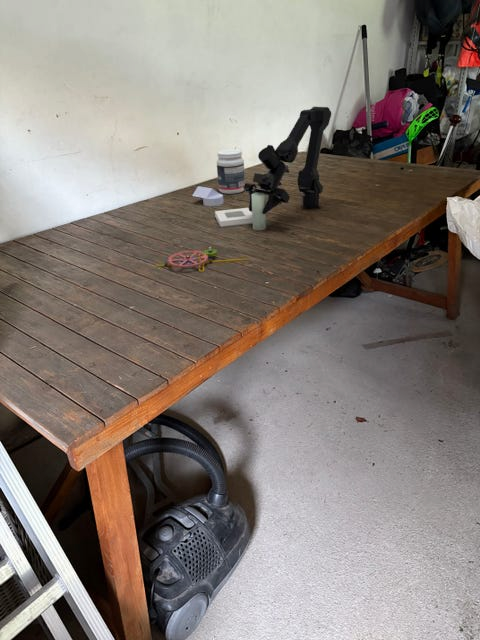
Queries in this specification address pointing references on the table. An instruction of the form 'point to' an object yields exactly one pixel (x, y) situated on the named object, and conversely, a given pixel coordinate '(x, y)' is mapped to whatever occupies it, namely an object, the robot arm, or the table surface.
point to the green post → (258, 211)
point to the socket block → (234, 217)
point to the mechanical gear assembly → (191, 263)
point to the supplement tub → (230, 171)
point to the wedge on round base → (209, 196)
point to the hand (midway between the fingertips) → (256, 212)
